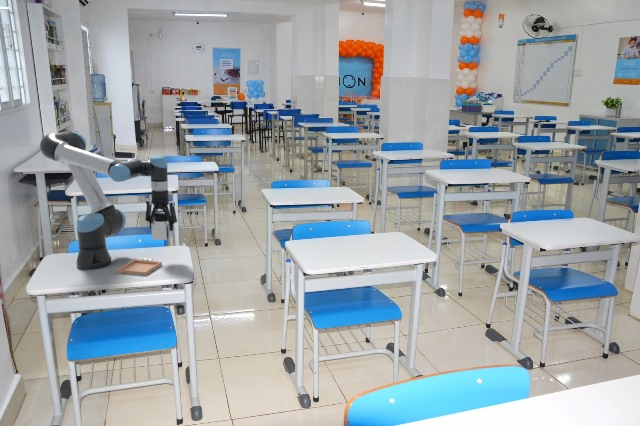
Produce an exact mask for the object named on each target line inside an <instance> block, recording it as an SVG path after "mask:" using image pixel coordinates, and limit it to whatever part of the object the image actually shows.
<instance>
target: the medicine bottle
mask: <svg viewBox="0 0 640 426" xmlns="http://www.w3.org/2000/svg"><path fill="white" fill-rule="evenodd" d="M154 220H155V221H154V222H155V223H154V224H153V225H152V232H151V238H152V240H153V241H154V240H155V241H168V240H169V239H170V238H168V224H169V223H168V220H167V218H166V216H165V213H164V212H157V213H156V214H155V215H154Z"/></svg>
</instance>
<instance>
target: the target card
mask: <svg viewBox="0 0 640 426" xmlns="http://www.w3.org/2000/svg"><path fill="white" fill-rule="evenodd" d="M138 260H145V261H153V258H145V257H144V258H143V257H141V258H139V259H138Z"/></svg>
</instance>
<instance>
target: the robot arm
mask: <svg viewBox="0 0 640 426" xmlns="http://www.w3.org/2000/svg"><path fill="white" fill-rule="evenodd" d="M86 146H87V141H86V139H85V138H84V137H83V135H82V134H80V133H79V132H77V131H72V130H71V131H69V130H66V131H61V132H60V131H59V132H55V133H53V132H52V133H47V134H46V135H44V136H43V137H42V138H41V140H40V143H39V149H40V152H41V153H42V155H43V156H45V157H46V158H47V159H49V160H52V161H54V162H58V163H62V164H63V165H66V166H68V168H69V171H70V172H71V175H72V176H73V178H74V180H75V182H76V184H77V185H78V187H79V190H80V191H81V193H82V195H83V197H84V198H85V201H86V202H87V204H88V207H89V208H90V210H91V211H90V213H88V214H83V215H81V216H79V217H78V218H77V220H76V231H77V240H78V242H77V243H78V248H79V249H78V254H77V258H76V268H77V269H80V270H85V271H86V270H98V269H99V270H100V269H103V268H106V267H108V266H110V265H111V264H112V256H111V255H110V253H109V250H108V248H107V241H106V239H108V238H109V237H112V236H113V235H117V234H119V233H120V232H121V231H123V229H125V226H126V222H127V221H126V216H125V214H124V212H123V211H122V210H120V209H118V208H116V206H115V204H114V203H111V202H109V200H108V198H107V196H106V195H105V193H104V191H103V189H102V187H101V185H100V183H99V182H98V179H97V178H96V176H95V174H94V172H96V173H99V174H102V175H105V176H108V177H110V179H111V180H112V181H114V182H116V183H120V182H125V181H128V180H131V179H134V178H139V177H150V185H151V187H150V189H151V198H152V199H151V200H150V199H148V200H145V201H146V202H145V204H146V209H145V210H146V211H145V222H148V223H149V230H151V233H152V225H153V224H154V223H155V219H154V215H155V214H157V213H158V210H161V211H162V213H165V216H166V218H167V220H168V223H169V224H168V238H169V239H170V238H172V237H173V231H174V224H175V223H178V219H177V218H178V217H177V214H176V209H175V206H176V202H174V201H173V202H172V201H170V200H169V180H168V178H169V177H168V162H167V161H168V160H167V157H165V156H162V155H154V156H150V157H149V160H148V159H147V160H146V159H137V158H134V159H133V158H132V159H131V158H130V159H127V160H126V162H122V161H118V160H115V159H112V158H109V157H106V156H103V155H100V154H98V153H94V152H90V151H88V150H87V147H86ZM152 206H153V207H152Z"/></svg>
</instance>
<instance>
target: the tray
mask: <svg viewBox="0 0 640 426" xmlns="http://www.w3.org/2000/svg"><path fill="white" fill-rule="evenodd" d="M162 263H163V262H162V261H157V260H156V261H155V260H154V261H153V260H152V261H145V260H139V259H133V260H131V261H129V262H128V263H125V264H124V265H122V266H121V267H119V268H117V269H116V273H117V274H124V275H125V274H127V275H137V276H147V275H149V274H150V273H152V272H153V271H155V270H157V269H158V268H160V267H161V266H162Z"/></svg>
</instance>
